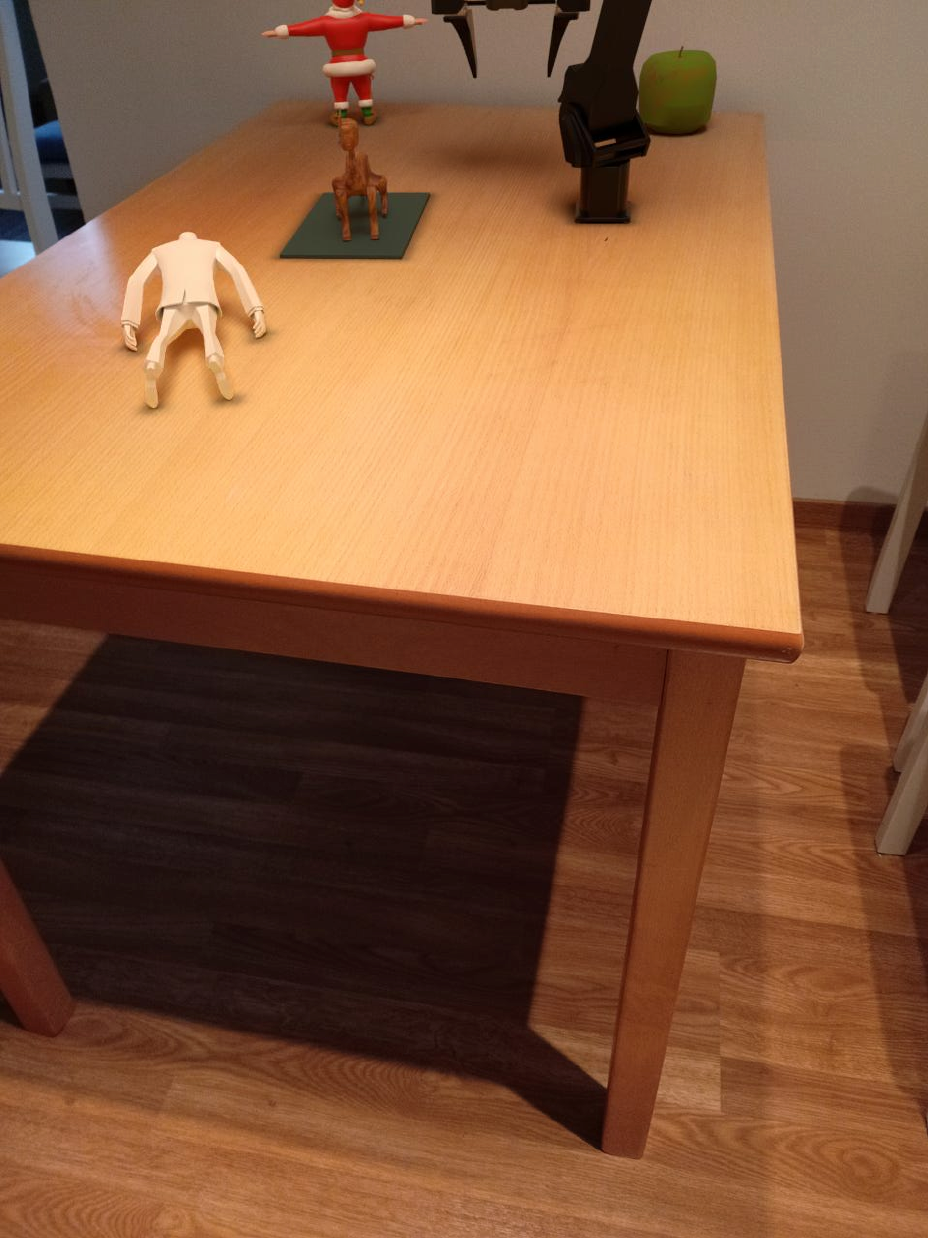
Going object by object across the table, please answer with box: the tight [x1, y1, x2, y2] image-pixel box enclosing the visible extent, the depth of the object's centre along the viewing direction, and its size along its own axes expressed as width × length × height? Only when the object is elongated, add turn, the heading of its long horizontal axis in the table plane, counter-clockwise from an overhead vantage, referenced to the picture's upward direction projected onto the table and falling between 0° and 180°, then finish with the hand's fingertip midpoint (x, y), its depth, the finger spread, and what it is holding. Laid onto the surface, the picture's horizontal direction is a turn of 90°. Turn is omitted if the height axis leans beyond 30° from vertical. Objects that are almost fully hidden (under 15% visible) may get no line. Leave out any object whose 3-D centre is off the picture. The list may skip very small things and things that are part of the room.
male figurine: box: [120, 231, 267, 409], centre depth 92 cm, size 14×6×25 cm
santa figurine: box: [261, 0, 429, 128], centre depth 148 cm, size 25×6×19 cm, turn 103°
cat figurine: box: [331, 108, 388, 241], centre depth 113 cm, size 18×7×14 cm, turn 3°
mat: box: [279, 192, 431, 260], centre depth 118 cm, size 22×14×1 cm, turn 173°
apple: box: [638, 45, 718, 135], centre depth 142 cm, size 11×11×11 cm
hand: (512, 77), depth 122 cm, fingers open, 9 cm apart
